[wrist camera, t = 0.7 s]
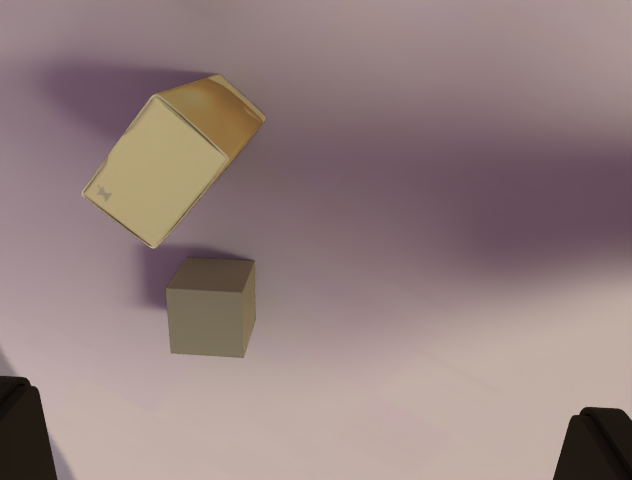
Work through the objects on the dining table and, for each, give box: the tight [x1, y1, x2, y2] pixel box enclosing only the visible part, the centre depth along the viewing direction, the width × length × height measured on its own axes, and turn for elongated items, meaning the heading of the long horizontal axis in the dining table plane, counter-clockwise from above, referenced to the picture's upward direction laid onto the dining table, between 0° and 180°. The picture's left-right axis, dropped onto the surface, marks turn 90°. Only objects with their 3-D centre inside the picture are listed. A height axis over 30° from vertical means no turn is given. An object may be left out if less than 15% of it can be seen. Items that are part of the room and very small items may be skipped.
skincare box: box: [81, 74, 266, 249], centre depth 29 cm, size 6×4×12 cm
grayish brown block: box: [165, 257, 256, 358], centre depth 37 cm, size 5×5×5 cm
